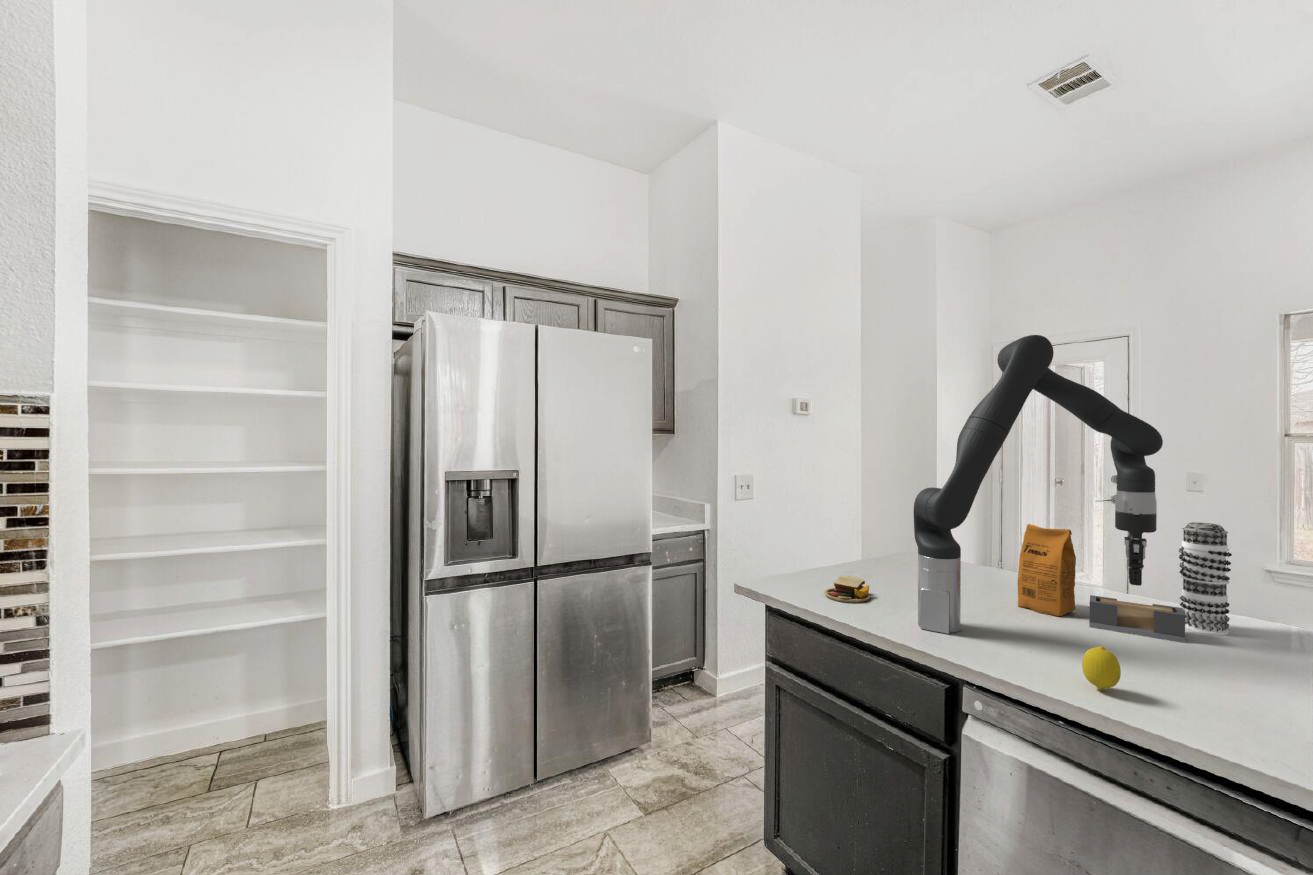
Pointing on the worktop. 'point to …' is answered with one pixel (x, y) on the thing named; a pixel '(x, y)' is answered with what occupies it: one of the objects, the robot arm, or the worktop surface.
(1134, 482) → the robot arm
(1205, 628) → the decorative candle
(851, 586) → the toy sandwich meal
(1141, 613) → the slat
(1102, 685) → the lemon
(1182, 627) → the rail
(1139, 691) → the worktop surface
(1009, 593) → the worktop surface
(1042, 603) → the coffee package
